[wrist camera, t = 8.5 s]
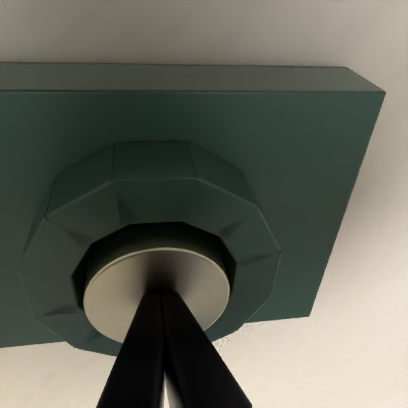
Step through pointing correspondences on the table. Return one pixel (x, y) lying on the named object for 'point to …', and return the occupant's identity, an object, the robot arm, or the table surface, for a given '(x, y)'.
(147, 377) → the robot arm
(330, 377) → the table surface
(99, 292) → the button
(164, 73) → the button box
